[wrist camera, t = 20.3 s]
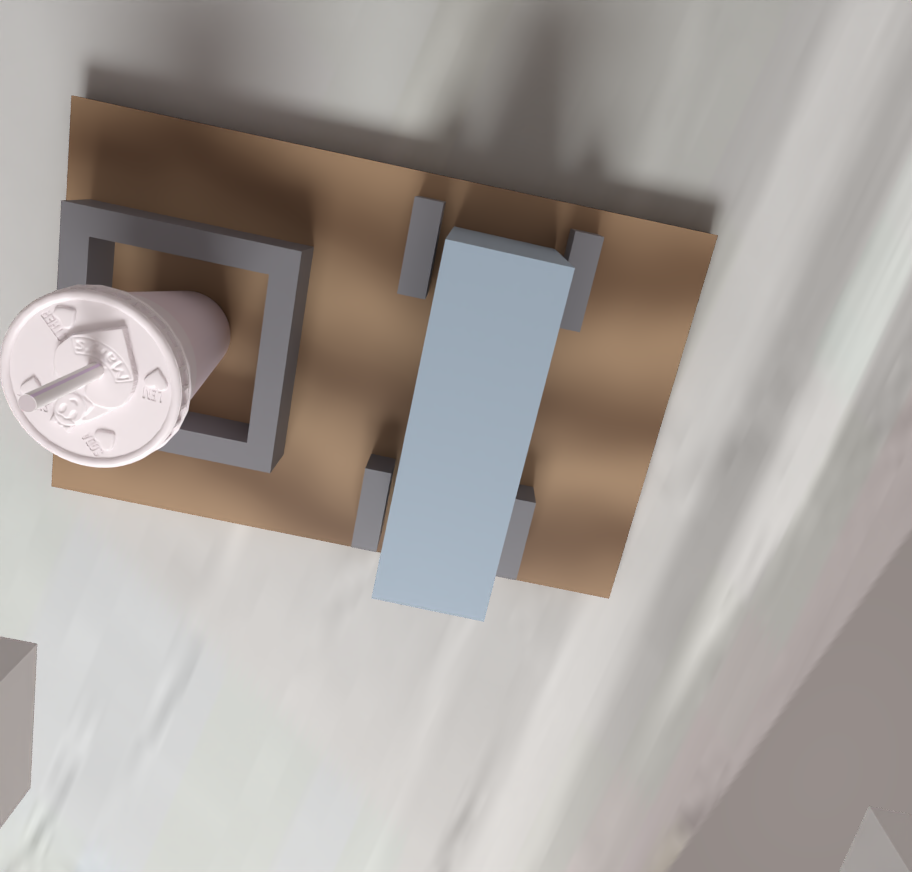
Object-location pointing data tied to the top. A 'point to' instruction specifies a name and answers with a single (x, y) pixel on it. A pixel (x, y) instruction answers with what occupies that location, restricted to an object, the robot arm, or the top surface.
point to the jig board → (386, 333)
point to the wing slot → (416, 284)
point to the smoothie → (109, 369)
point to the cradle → (287, 263)
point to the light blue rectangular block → (471, 420)
